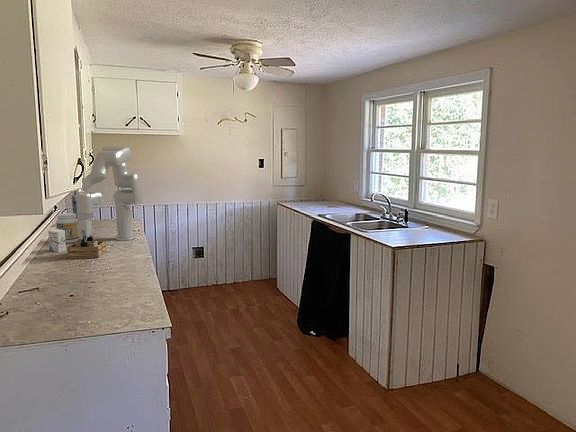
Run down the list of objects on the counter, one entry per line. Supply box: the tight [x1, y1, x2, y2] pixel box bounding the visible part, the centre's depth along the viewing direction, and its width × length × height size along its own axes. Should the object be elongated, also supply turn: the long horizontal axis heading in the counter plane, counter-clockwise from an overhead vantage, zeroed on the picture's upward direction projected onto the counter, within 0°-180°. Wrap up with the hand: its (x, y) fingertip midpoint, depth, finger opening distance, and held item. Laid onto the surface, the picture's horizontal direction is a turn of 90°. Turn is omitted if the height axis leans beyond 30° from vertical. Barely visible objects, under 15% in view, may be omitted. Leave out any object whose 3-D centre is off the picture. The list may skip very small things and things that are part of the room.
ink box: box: [47, 228, 67, 253], centre depth 250 cm, size 9×5×12 cm, turn 62°
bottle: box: [71, 190, 78, 219], centre depth 325 cm, size 10×10×30 cm
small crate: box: [76, 240, 98, 252], centre depth 241 cm, size 6×9×6 cm, turn 96°
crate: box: [66, 240, 107, 260], centre depth 241 cm, size 14×16×6 cm
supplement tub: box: [55, 212, 80, 244], centre depth 274 cm, size 12×12×17 cm
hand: (87, 247), depth 241 cm, fingers open, 9 cm apart
